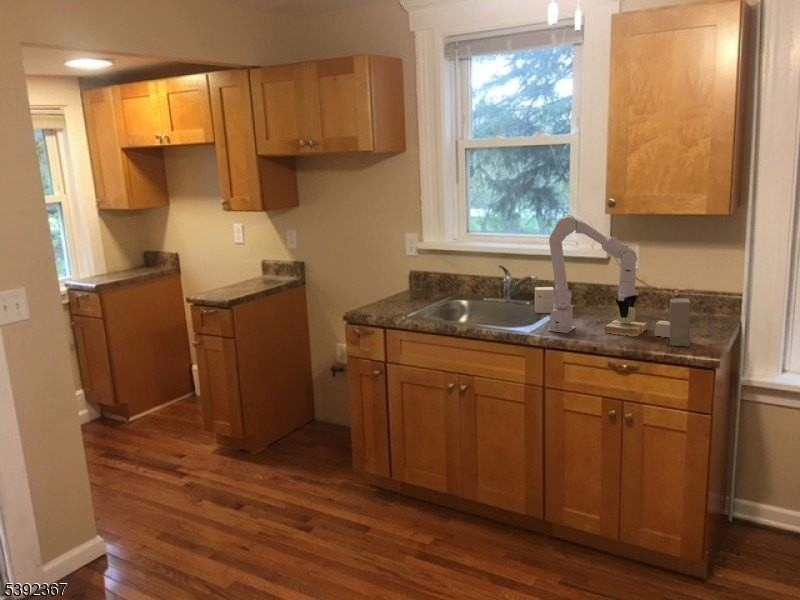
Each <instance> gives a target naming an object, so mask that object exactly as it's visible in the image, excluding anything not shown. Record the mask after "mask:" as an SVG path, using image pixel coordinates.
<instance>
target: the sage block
mask: <svg viewBox="0 0 800 600" xmlns="http://www.w3.org/2000/svg"><path fill="white" fill-rule="evenodd" d="M616 313H617V314H616V315H617V316H616V317H617V318H616V320H617V321H618V322H626V323H631V322H635V321H636V306H635V307H629V310H628V315H627V318H623V317H621V316H620V311H619V307H618V308H617V312H616Z"/></svg>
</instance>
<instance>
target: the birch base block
mask: <svg viewBox="0 0 800 600" xmlns="http://www.w3.org/2000/svg"><path fill="white" fill-rule="evenodd" d="M644 330H645V331H646V330H647V322H640V321H633V322H631V323H626V322H618V321H617V319H614V320H612V321H611V322H610V323H608V324H606V325H605V326H604V334H609V333H611V335H618V334H619V336H626V335H628V337H634V336H637V337H639V336H640V335H642V334H643V331H644ZM645 331H644V332H645ZM639 334H640V335H639ZM638 335H639V336H638Z"/></svg>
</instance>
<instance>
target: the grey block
mask: <svg viewBox="0 0 800 600" xmlns="http://www.w3.org/2000/svg"><path fill="white" fill-rule="evenodd" d="M654 326H655V328H654V329H655V331H654V337H656V336H661V337H660V338H664V337H670V322H669V321H667V320H658V321H657V322H655V325H654Z"/></svg>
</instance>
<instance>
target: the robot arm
mask: <svg viewBox="0 0 800 600" xmlns="http://www.w3.org/2000/svg"><path fill="white" fill-rule="evenodd" d="M574 231H575V234H583V235H585V236H587V237H588V238H590V239H592V241H593V240H594V242H597V243H598V244H599V245H601V250H603V251H605V252H606V253H607V254H609V255H611V256H612V257H614V258H615V259H618V260H620V267H619V278H618V281H619V282H618V293H617V294H618V295H617V298H615V302H616V305H617V307H618V308H619V311H620V316H621V317H623V318H627V315H628V310H629V307H634V306H635V303H636V302H637V299H638V297H639V296H638V295H639V292H638V291H636V274H637V273H636V271H637V269H636V265H637V260H638V257H637V254H636V251H635V250H634V249H633V248H632V247H630V246H629V245H628V244H624V243H622V242H621V241H619V240H618V237H616V236H614V237H613V236H605V235H604V234H603V233H601V232H599V231H598V230H596V229H595V228H594V227H592V226H591V225H589V224H588V223H587V222H585V221H583V220H581V219H579V218H575V217H574V216H573V215H570V214H567V215H564V216H562V217H561V218H560V219H559V220H558V221H557V223H556V224H555V226H554V228H553V230H552V232H551V234H550V235H549V238H548V239H549V240H548V243H549V249H550V257H551V264H552V272H553V280H554V293H555V297H554V305H553V312H552V313H549V314H550V315H549V328H548V329H547V331H548V332H554V333H555V332H556V333H564V334H567V333H570V332H571V331H573V330H574V329H576V327H577V326H575V325H573V304H571V303H572V291H570V289H569V285H568V279H567V271H566V265H565V258H564V249H563V243H562V242H563V241H564V240H565V239H566V238H567V237H568V236H569V235H571V234H572V233H574Z"/></svg>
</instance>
